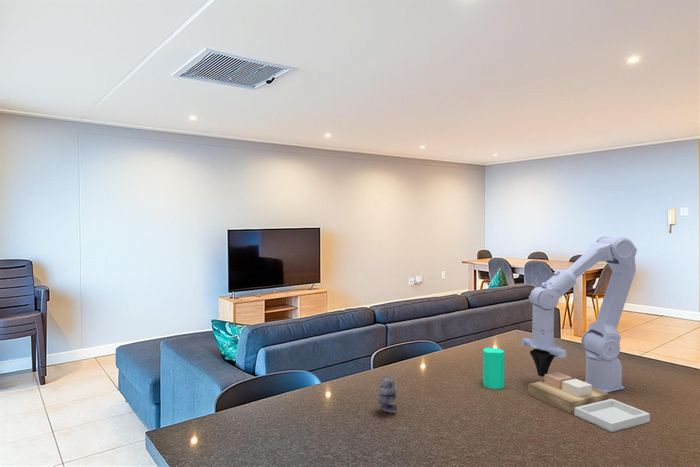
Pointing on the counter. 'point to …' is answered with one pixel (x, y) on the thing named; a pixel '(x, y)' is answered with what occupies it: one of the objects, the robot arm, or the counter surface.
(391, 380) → the grey stone figurine
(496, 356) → the candle
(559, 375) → the terracotta tile
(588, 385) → the cream tile
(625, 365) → the counter surface
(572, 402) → the board
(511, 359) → the counter surface
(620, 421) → the tray
